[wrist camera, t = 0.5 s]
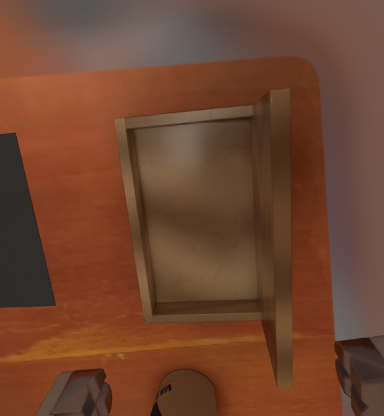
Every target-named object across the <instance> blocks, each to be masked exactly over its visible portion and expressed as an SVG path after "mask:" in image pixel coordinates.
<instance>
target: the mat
mask: <svg viewBox="0 0 384 416" xmlns="http://www.w3.org/2000/svg"><path fill="white" fill-rule="evenodd" d="M33 306H56V304H55V300H54V295H53V291H52V287H51V282H50V278H49V274H48V270H47V265H46V261H45V257H44V252H43V248H42V244H41V240H40V235H39V231H38V227H37V223H36V218H35V214H34V210H33V205H32V201H31V197H30V193H29V188H28V184H27V180H26V175H25V171H24V167H23V163H22V158H21V154H20V150H19V145H18V141H17V137H16V133H8V134H0V308H4V307H33Z"/></svg>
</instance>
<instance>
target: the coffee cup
mask: <svg viewBox="0 0 384 416" xmlns="http://www.w3.org/2000/svg"><path fill="white" fill-rule="evenodd" d="M150 416H217V410H216V398H215V390H214V387H213V385H212V383H211V382H210V381H209V380H208V378H206V377H205V376H204V375H202V374H200V373H198V372H196V371H192V370H177V371H174V372H172V373H170V374H168V375H167V376H166V377H165V378H164V379H163V380H162V382H161V384H160V387H159V390H158V393H157V396H156V399H155V402H154V405H153V409H152V412H151V415H150Z"/></svg>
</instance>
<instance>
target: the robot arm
mask: <svg viewBox="0 0 384 416" xmlns="http://www.w3.org/2000/svg"><path fill="white" fill-rule="evenodd" d="M334 346H335V352H336V354H337V356H338V358H337V359H336V361H335V365H336V372H337V376H338V379H339V382H340V385H341V387H342V389H343V391H344V393H345V394H346V395H348V396H349V397H350V398H351V407H352V409H353V411H354V413H355V415H356V416H384V336H375V337H368V338H360V339H359V338H358V339H350V340H342V341H335V344H334ZM105 378H106V375H105V372H104V370H103V369H88V370H76V371H68V372H62V373H60V374H59V375H58V376H57V378H56V380H55V382H54V383H53V385H52V387H51V389H50V390H49V392H48V394H47V396H46V397H45V399H44V401H43V403H42V404H41V406H40V408H39V410H38V411H37V413H36V415H35V416H109V413H110V410H111V406H112V391H111V388H110V385H108V384H107V383H106V382H104V380H105Z"/></svg>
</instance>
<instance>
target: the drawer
mask: <svg viewBox="0 0 384 416" xmlns="http://www.w3.org/2000/svg"><path fill="white" fill-rule="evenodd" d="M114 123H115V130H116V136H117V143H118V149H119V156H120V163H121V169H122V176H123V182H124V189H125V196H126V202H127V209H128V215H129V222H130V229H131V235H132V242H133V248H134V255H135V262H136V268H137V275H138V281H139V288H140V295H141V301H142V308H143V314H144V321H145V323H177V322H213V321H250V320H261V322H262V326H263V330H264V334H265V338H266V343H267V347H268V351H269V355H270V359H271V364H272V368H273V372H274V376H275V380H276V384H277V388H293V358H292V242H291V126H290V88H284V89H275V90H270V91H269V92H268V93H267V94H265V95H264V96H263V97H262V98H260V99H259V100H258V101H257V102H256V103H254V104H253V105H243V106H234V107H224V108H215V109H205V110H196V111H186V112H176V113H167V114H157V115H148V116H138V117H129V118H119V119H114Z"/></svg>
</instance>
